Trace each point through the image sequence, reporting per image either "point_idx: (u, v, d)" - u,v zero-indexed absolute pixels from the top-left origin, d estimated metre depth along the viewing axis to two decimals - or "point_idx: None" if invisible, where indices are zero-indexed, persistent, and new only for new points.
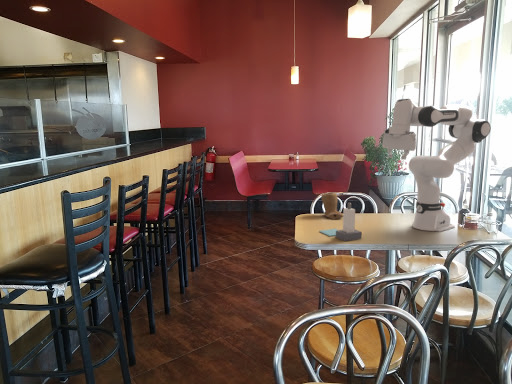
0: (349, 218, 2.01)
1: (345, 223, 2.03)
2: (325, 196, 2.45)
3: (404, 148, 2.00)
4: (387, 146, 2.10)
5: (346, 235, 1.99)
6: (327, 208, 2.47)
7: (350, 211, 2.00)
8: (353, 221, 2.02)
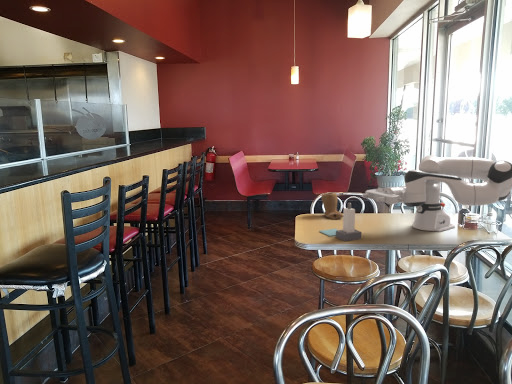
0: (349, 218, 2.01)
1: (345, 223, 2.03)
2: (325, 196, 2.45)
3: (386, 195, 2.02)
4: (371, 191, 2.13)
5: (346, 235, 1.99)
6: (327, 208, 2.47)
7: (350, 211, 2.00)
8: (353, 221, 2.02)
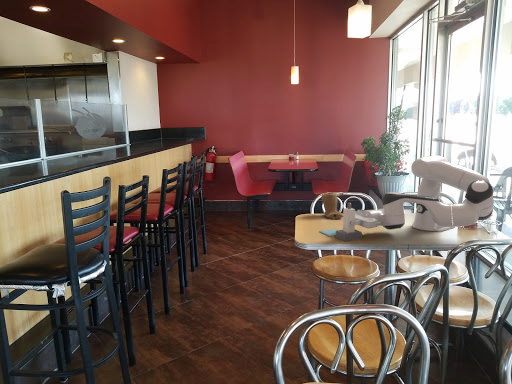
0: (349, 218, 2.01)
1: (345, 223, 2.03)
2: (325, 196, 2.45)
3: (364, 219, 1.99)
4: None
5: (346, 235, 1.99)
6: (327, 208, 2.47)
7: (350, 211, 2.00)
8: None
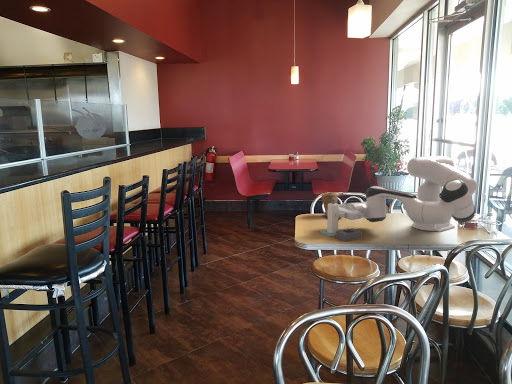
0: (333, 212, 2.10)
1: (329, 218, 2.12)
2: (325, 196, 2.45)
3: (347, 211, 2.08)
4: None
5: (346, 235, 1.99)
6: (327, 208, 2.47)
7: (334, 206, 2.09)
8: None
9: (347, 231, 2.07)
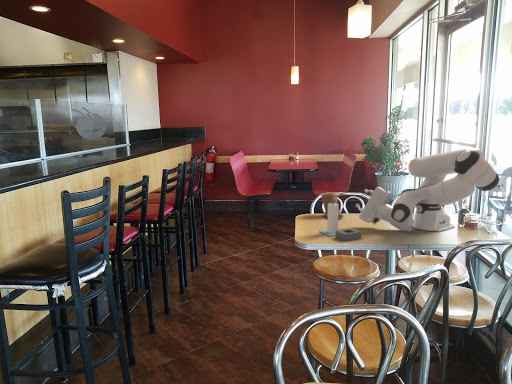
0: (333, 212, 2.10)
1: (329, 218, 2.12)
2: (325, 196, 2.45)
3: None
4: None
5: (346, 235, 1.99)
6: (327, 208, 2.47)
7: (334, 206, 2.09)
8: (337, 216, 2.11)
9: (347, 231, 2.07)
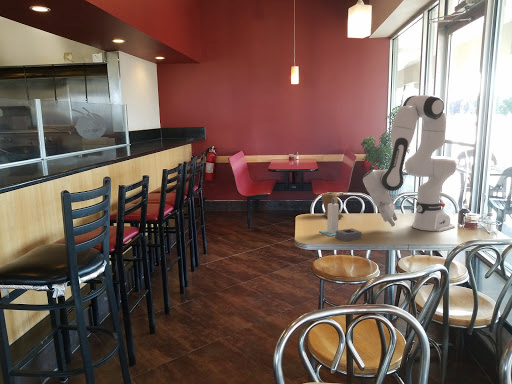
0: (333, 212, 2.10)
1: (329, 218, 2.12)
2: (325, 196, 2.45)
3: None
4: None
5: (346, 235, 1.99)
6: (327, 208, 2.47)
7: (334, 206, 2.09)
8: (337, 216, 2.11)
9: (347, 231, 2.07)
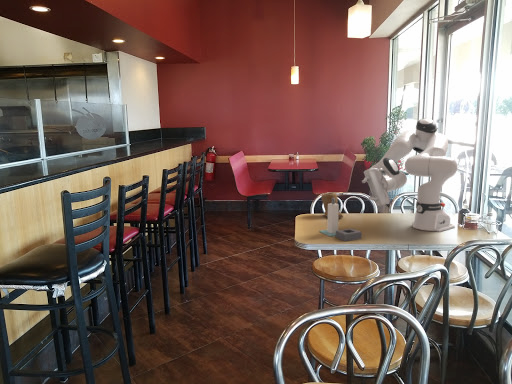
0: (333, 212, 2.10)
1: (329, 218, 2.12)
2: (325, 196, 2.45)
3: (380, 197, 2.11)
4: (371, 176, 2.12)
5: (346, 235, 1.99)
6: (327, 208, 2.47)
7: (334, 206, 2.09)
8: (337, 216, 2.11)
9: (347, 231, 2.07)
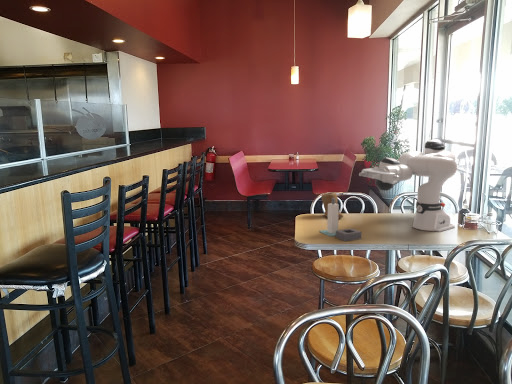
0: (333, 212, 2.10)
1: (329, 218, 2.12)
2: (325, 196, 2.45)
3: (382, 172, 2.07)
4: (367, 170, 2.18)
5: (346, 235, 1.99)
6: (327, 208, 2.47)
7: (334, 206, 2.09)
8: (337, 216, 2.11)
9: (347, 231, 2.07)
